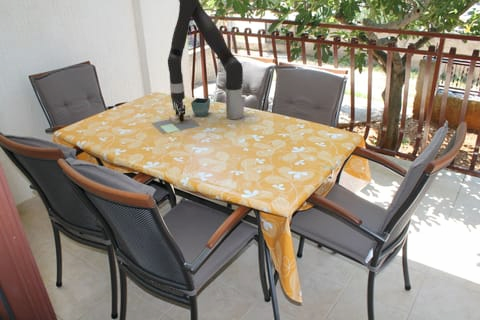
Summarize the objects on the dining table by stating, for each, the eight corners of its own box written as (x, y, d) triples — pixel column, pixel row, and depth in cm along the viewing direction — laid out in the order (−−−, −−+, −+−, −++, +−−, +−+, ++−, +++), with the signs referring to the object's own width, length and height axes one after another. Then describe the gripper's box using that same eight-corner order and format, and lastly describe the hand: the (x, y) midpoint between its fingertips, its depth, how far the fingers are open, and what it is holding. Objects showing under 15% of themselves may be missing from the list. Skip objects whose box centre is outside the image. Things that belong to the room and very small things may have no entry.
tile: (186, 117, 234) (186, 112, 232) (190, 119, 230) (189, 114, 229) (170, 120, 229) (169, 115, 228) (173, 123, 226) (173, 118, 224)
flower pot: (191, 117, 236) (190, 102, 232) (197, 112, 243) (196, 97, 239) (205, 118, 233) (204, 103, 229) (211, 113, 241) (210, 98, 237)
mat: (187, 116, 237) (187, 115, 236) (201, 126, 222) (201, 125, 222) (151, 124, 227) (150, 122, 227) (163, 135, 212) (162, 134, 212)
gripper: (188, 92, 218) (191, 122, 226) (178, 86, 229) (181, 114, 237) (175, 94, 215) (178, 124, 222) (166, 88, 226) (169, 116, 233)
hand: (179, 119), depth 229 cm, fingers closed on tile, 5 cm apart
